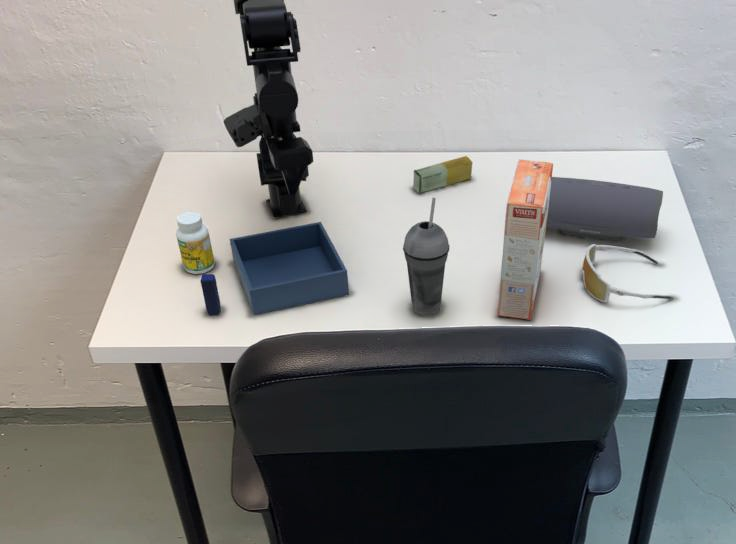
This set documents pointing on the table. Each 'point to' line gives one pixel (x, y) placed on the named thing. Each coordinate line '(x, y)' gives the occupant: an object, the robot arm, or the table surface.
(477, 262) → the table surface
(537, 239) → the cracker box
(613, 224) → the bluetooth speaker
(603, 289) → the sunglasses
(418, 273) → the beverage cup
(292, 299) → the storage box
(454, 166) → the medication box
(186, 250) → the supplement bottle
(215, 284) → the eraser
